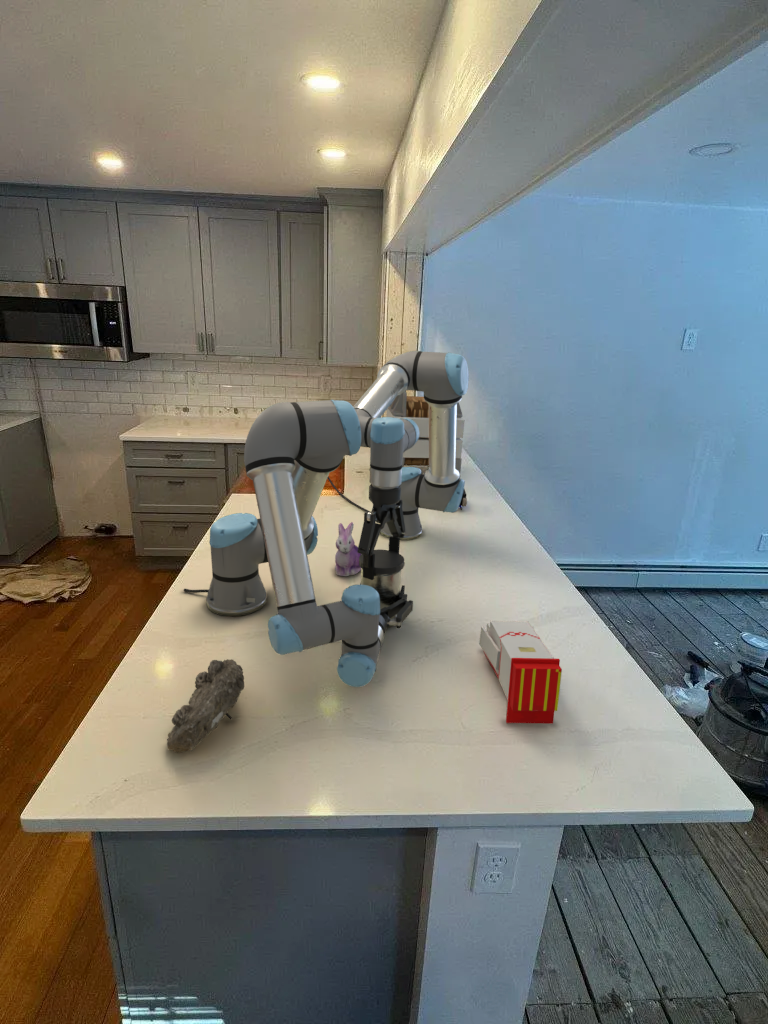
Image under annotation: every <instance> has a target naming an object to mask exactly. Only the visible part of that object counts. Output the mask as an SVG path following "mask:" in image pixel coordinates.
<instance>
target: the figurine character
mask: <svg viewBox="0 0 768 1024" xmlns="http://www.w3.org/2000/svg"><path fill="white" fill-rule="evenodd" d="M467 503H468V498H467V492H466V489H465V488H464V491H463V495H462V499H461V502H460V505H459V507H458V509H460V511H463V507H464V508H465V507H467Z"/></svg>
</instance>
